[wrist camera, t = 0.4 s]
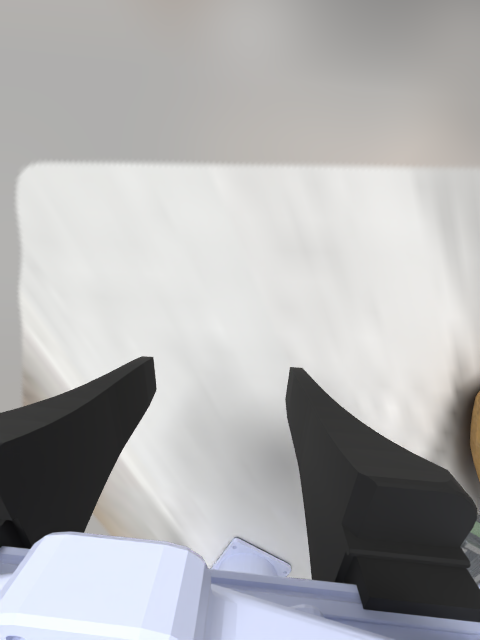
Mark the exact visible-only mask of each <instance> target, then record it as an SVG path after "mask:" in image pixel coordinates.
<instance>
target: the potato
mask: <svg viewBox="0 0 480 640" xmlns="http://www.w3.org/2000/svg"><path fill="white" fill-rule="evenodd" d="M470 447H471V452H472V457H473V462H474V465H475V469H476V472H477V475H478V479H479V482H480V391H479V393H478V394H477V396H476V398H475V402H474V407H473V412H472V421H471V431H470Z"/></svg>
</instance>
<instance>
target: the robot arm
mask: <svg viewBox="0 0 480 640" xmlns="http://www.w3.org/2000/svg"><path fill="white" fill-rule="evenodd" d="M155 392H156V379H155V369H154V360H153V357H143V356H142V357H139V358H137V359H135V360H133V361H131V362H129V363H127V364H125V365H123V366H121V367H119V368H117V369H115V370H113V371H112V372H110V373H108V374H106V375H104V376H101V377H99V378H97V379H95V380H93V381H91V382H89V383H87V384H85V385H82V386H80V387H78V388H75V389H73V390H70V391H68V392H65V393H63V394H60V395H57V396H55V397H52V398H49V399H46V400H43V401H40V402H37V403H34V404H31V405H27V406H24V407H21V408H17V409H14V410H10V411H6V412H3V413H0V640H480V583H479V584H478V585H477V584H476V582H475V581H474V579H473V578H472V576H471V574H470V573H469V571H468V570H467V568H469V567H470V566H471V564H470V561H469V559H468V558H467V556H466V555H465V553H464V551H463V550H462V548H461V547H460V546H461V545H462V543H463V542H464V540H465V539H466V537H467V536H468V534H469V533H470V531H471V530H472V528H473V527H474V524H475V522H476V520H477V508H476V506H475V504H474V502H473V500H472V499H471V498H470V497H469V495H468V494H467V493H466V492H465V491H464V489H463V488H462V487H461V486H460V484H459V483H458V482H457V481H456V480H455V478H454V477H453V476H452V475H451V474H450V472H449V471H448V470H446V469H444V468H442V467H440V466H438V465H436V464H434V463H432V462H430V461H428V460H426V459H424V458H422V457H420V456H418V455H416V454H414V453H412V452H410V451H408V450H406V449H404V448H403V447H401V446H399V445H397V444H395V443H394V442H392V441H390V440H389V439H387V438H385V437H384V436H382V435H380V434H379V433H377V432H376V431H374V430H373V429H371V428H370V427H368V426H367V425H365V424H364V423H362V422H361V421H359V420H358V419H357V418H355V417H354V416H353V415H351V414H350V413H349V412H347V411H346V410H345V409H344V408H343V407H341V406H340V405H339V404H338V403H337V402H336V401H334V400H333V399H332V398H331V397H330V396H329V395H328V394H327V393H326V392H325V391H324V390H323V389H322V388H321V387H320V386H319V385H318V384H317V383H316V382H315V381H314V380H313V379H312V378H311V377H310V376H309V375H308V374H307V373H306V371H305V370H304V369H303V368H295V367H290V372H289V379H288V385H287V392H286V399H285V400H286V410H287V418H288V423H289V427H290V431H291V436H292V440H293V444H294V448H295V452H296V457H297V461H298V466H299V472H300V479H301V486H302V493H303V501H304V509H305V517H306V526H307V535H308V544H309V553H310V564H311V574H312V580H308V579H299V578H290V577H287V575H288V574H289V573H290V572H291V566H290V565H289V564H288V563H286V562H284V561H282V560H280V559H278V558H276V557H274V556H272V555H270V554H268V553H266V552H264V551H262V550H260V549H258V548H256V547H254V546H252V545H250V544H249V543H247V542H245V541H243V540H241V539H239V538H234V539H233V540H232V542H231V543H230V544H229V546H228V547H227V548H226V549H225V551H224V552H223V553H222V555H221V556H220V557H219V559H218V560H217V561H216V563H215V564H214V565H213V567H212V568H211V569H208V567H207V565H206V563H205V561H204V559H203V557H202V556H200V555H199V554H197V553H196V552H194V551H193V550H191V549H190V548H188V547H186V546H182V545H178V544H174V543H170V542H166V541H156V540H147V539H137V538H128V537H118V536H109V535H99V534H90V533H84V531H85V529H86V526H87V524H88V522H89V520H90V517H91V515H92V513H93V510H94V508H95V506H96V503H97V501H98V499H99V497H100V495H101V492H102V490H103V488H104V486H105V484H106V482H107V480H108V477H109V475H110V473H111V471H112V469H113V467H114V465H115V463H116V461H117V459H118V457H119V455H120V453H121V451H122V450H123V448H124V446H125V444H126V443H127V441H128V440H129V438H130V436H131V435H132V433H133V432H134V430H135V428H136V427H137V425H138V424H139V422H140V420H141V419H142V417H143V415H144V414H145V412H146V411H147V409H148V407H149V405H150V403H151V401H152V399H153V396H154V394H155Z"/></svg>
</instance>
